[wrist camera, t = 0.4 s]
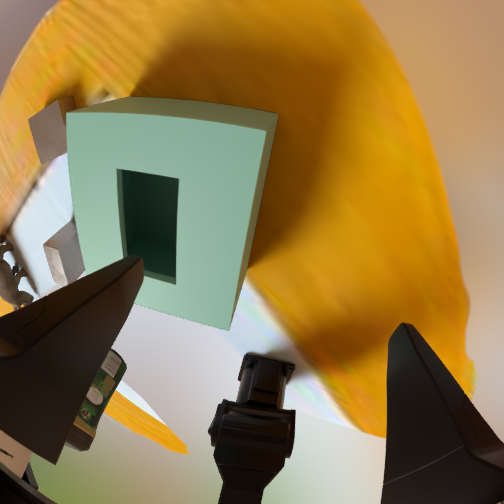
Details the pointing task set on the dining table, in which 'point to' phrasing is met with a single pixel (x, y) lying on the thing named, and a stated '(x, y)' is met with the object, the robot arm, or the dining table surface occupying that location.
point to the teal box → (171, 196)
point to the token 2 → (65, 255)
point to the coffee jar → (96, 402)
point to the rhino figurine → (11, 280)
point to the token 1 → (51, 129)
